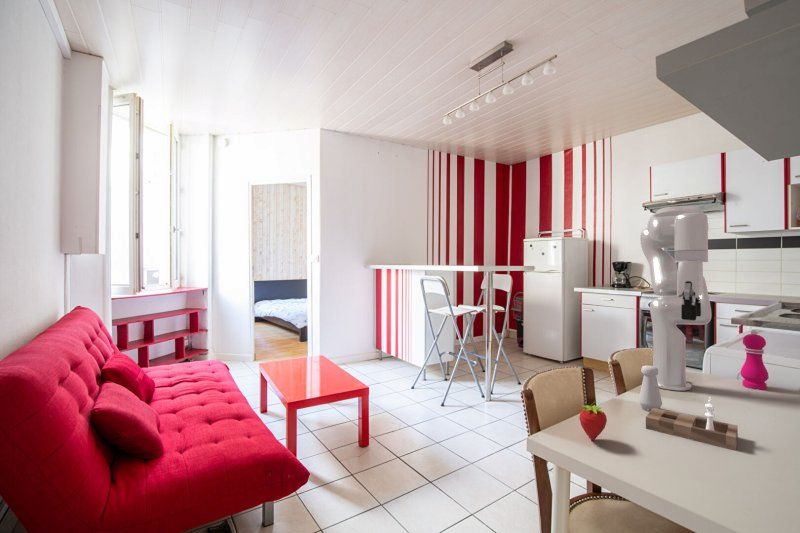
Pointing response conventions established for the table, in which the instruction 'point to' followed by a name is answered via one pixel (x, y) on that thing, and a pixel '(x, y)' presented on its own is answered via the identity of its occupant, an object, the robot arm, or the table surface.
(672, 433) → the socket plate
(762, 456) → the table surface
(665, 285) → the robot arm
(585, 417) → the strawberry
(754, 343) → the pepper mill
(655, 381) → the salt shaker
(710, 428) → the chess piece
